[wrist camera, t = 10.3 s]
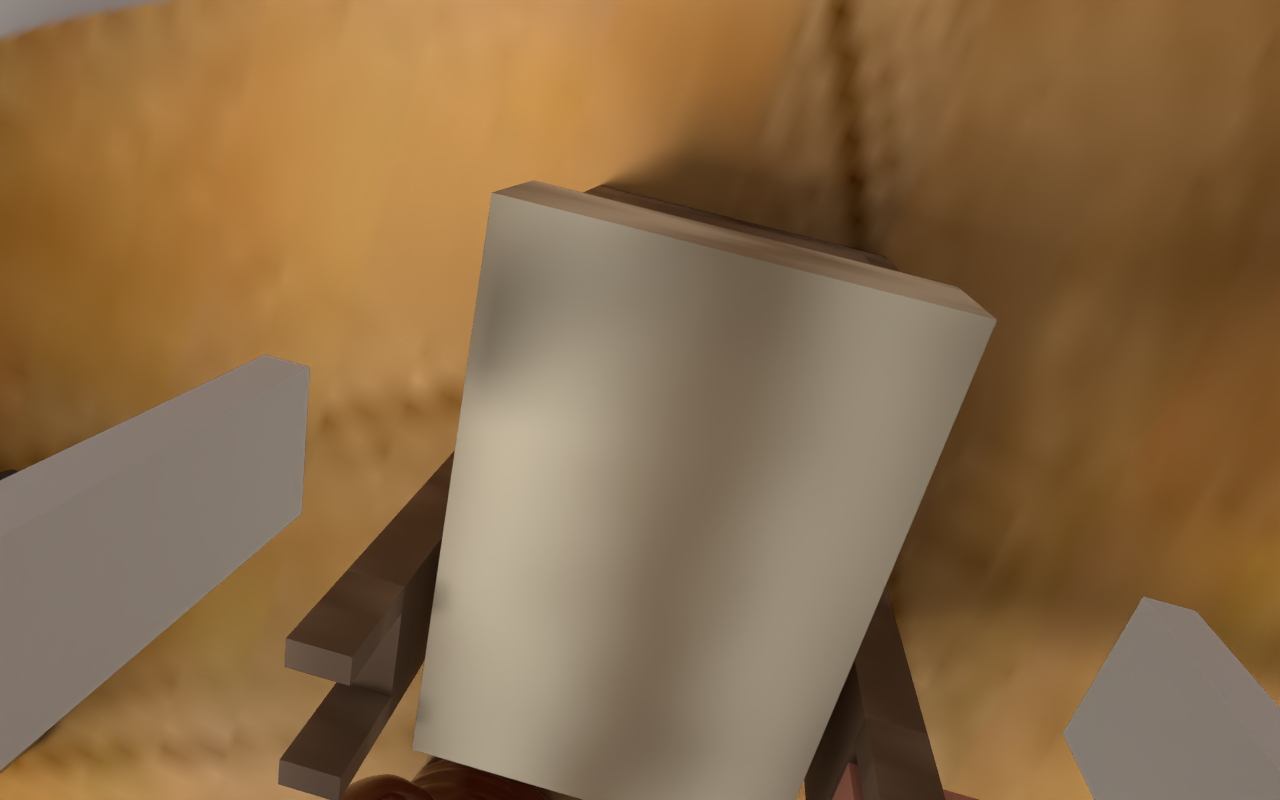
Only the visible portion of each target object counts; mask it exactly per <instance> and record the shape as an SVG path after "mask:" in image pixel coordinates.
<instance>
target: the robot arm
mask: <svg viewBox="0 0 1280 800" xmlns="http://www.w3.org/2000/svg"><path fill="white" fill-rule="evenodd" d="M309 373H310V367H308V366H304V365H301V364H297V363H294V362H290V361H286V360H283V359H279V358H275V357H272V356H268V355H263V356H261V357H259V358H257V359H255V360H253V361H250V362H248V363H246V364H244V365H242V366H240V367H238V368H236V369H234V370H231V371H229V372H227V373H225V374H223V375H221V376H219V377H217V378H215V379H213V380H210V381H208V382H206V383H204V384H202V385H200V386H198V387H196V388H194V389H191V390H189V391H187V392H185V393H183V394H181V395H179V396H177V397H175V398H173V399H170V400H168V401H166V402H164V403H162V404H160V405H158V406H156V407H154V408H152V409H149V410H147V411H145V412H143V413H141V414H139V415H137V416H135V417H133V418H130V419H128V420H126V421H124V422H122V423H120V424H118V425H116V426H114V427H112V428H109V429H107V430H105V431H103V432H101V433H99V434H97V435H95V436H93V437H90V438H88V439H86V440H84V441H82V442H80V443H78V444H76V445H74V446H72V447H69V448H67V449H65V450H63V451H61V452H59V453H57V454H55V455H53V456H51V457H48V458H46V459H44V460H42V461H40V462H38V463H36V464H34V465H32V466H29V467H27V468H25V469H23V470H21V471H16V470H9V471H5V472H1V473H0V774H1V773H2V772H3V771H4V770H5V769H6V768H8V767H9V766H10V765H11V764H12V763H13V762H14V761H16V760H17V759H18V758H19V757H20V756H21V755H23V754H24V753H25V752H26V751H27V750H28V749H29V748H31V747H32V746H33V745H34V744H35V743H36V742H37V741H39V740H40V739H41V738H42V736H43V735H44V734H45V733H46V731H47V730H49V729H50V728H51V727H52V726H53V725H54V724H56V723H57V722H58V721H59V720H60V719H61V718H63V717H64V716H65V715H66V714H67V713H68V712H70V711H71V710H72V709H73V708H74V707H76V706H77V705H78V704H79V703H80V702H81V701H83V700H84V699H85V698H86V697H87V696H88V695H90V694H91V693H92V692H93V691H94V690H95V689H97V688H98V687H99V686H100V685H101V684H102V683H104V682H105V681H106V680H107V679H108V678H110V677H111V676H112V675H113V674H114V673H115V672H117V671H118V670H119V669H120V668H121V667H122V666H124V665H125V664H126V663H127V662H128V661H129V660H131V659H132V658H133V657H134V656H135V655H136V654H138V653H139V652H140V651H141V650H142V649H143V648H145V647H146V646H147V645H148V644H149V643H151V642H152V641H153V640H154V639H155V638H156V637H158V636H159V635H160V634H161V633H162V632H163V631H165V630H166V629H167V628H168V627H169V626H170V625H172V624H173V623H174V622H175V621H176V620H177V619H179V618H180V617H181V616H182V615H183V614H184V613H186V612H187V611H188V610H189V609H190V608H192V607H193V606H194V605H195V604H196V603H197V602H199V601H200V600H201V599H202V598H203V597H204V596H206V595H207V594H208V593H209V592H210V591H211V590H213V589H214V588H215V587H216V586H217V585H218V584H220V583H221V582H222V581H223V580H224V579H225V578H227V577H228V576H229V575H230V574H231V573H233V572H234V571H235V570H236V569H237V568H238V567H240V566H241V565H242V564H243V563H244V562H245V561H247V560H248V559H249V558H250V557H251V556H252V555H254V554H255V553H256V552H257V551H258V550H259V549H261V548H262V547H263V546H264V545H265V544H267V543H268V542H269V541H270V540H271V539H272V538H274V537H275V536H276V535H277V534H278V533H279V532H281V531H282V530H283V529H284V528H285V527H286V526H288V525H289V524H290V523H291V522H292V521H293V520H295V519H296V518H297V517H298V516H299V515H300V514H302V498H303V481H304V463H305V445H306V427H307V409H308V391H309ZM1063 735H1064V737H1065V739H1066V741H1067V744H1068V746H1069V748H1070V750H1071V752H1072V754H1073V756H1074V758H1075V760H1076V762H1077V765H1078V767H1079V769H1080V771H1081V773H1082V775H1083V777H1084V779H1085V781H1086V783H1087V785H1088V788H1089V790H1090V792H1091V794H1092V796H1093V798H1094V800H1280V708H1279V706H1278V705H1277V704H1276V703H1275V702H1274V701H1273V699H1272V698H1271V697H1270V696H1269V695H1268V694H1267V693H1266V691H1265V690H1264V689H1263V688H1262V687H1261V686H1260V684H1259V683H1258V682H1257V681H1256V680H1255V679H1254V677H1253V676H1252V675H1251V674H1250V673H1249V672H1248V671H1247V669H1246V668H1245V667H1244V666H1243V665H1242V664H1241V662H1240V661H1239V660H1238V659H1237V658H1236V657H1235V656H1234V654H1233V653H1232V652H1231V651H1230V650H1229V649H1228V647H1227V646H1226V645H1225V644H1224V643H1223V642H1222V640H1221V639H1220V638H1219V637H1218V636H1217V635H1216V634H1215V632H1214V631H1213V630H1212V629H1211V628H1210V627H1209V625H1208V624H1207V623H1206V622H1205V621H1204V620H1203V619H1202V617H1201V616H1200V615H1199V614H1198V613H1197V612H1196V611H1194V610H1191V609H1187V608H1184V607H1180V606H1176V605H1173V604H1169V603H1165V602H1162V601H1158V600H1154V599H1151V598H1147V597H1144V596H1143V598H1142V599H1141V601H1140V603H1139V605H1138V606H1137V608H1136V610H1135V611H1134V613H1133V615H1132V616H1131V618H1130V620H1129V622H1128V623H1127V625H1126V627H1125V628H1124V630H1123V632H1122V634H1121V635H1120V637H1119V639H1118V640H1117V642H1116V644H1115V645H1114V647H1113V649H1112V651H1111V652H1110V654H1109V656H1108V657H1107V659H1106V661H1105V662H1104V664H1103V666H1102V668H1101V669H1100V671H1099V673H1098V674H1097V676H1096V678H1095V679H1094V681H1093V683H1092V685H1091V686H1090V688H1089V690H1088V691H1087V693H1086V695H1085V697H1084V698H1083V700H1082V702H1081V703H1080V705H1079V707H1078V708H1077V710H1076V712H1075V714H1074V715H1073V717H1072V719H1071V720H1070V722H1069V724H1068V725H1067V727H1066V729H1065V731H1064V732H1063Z"/></svg>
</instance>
